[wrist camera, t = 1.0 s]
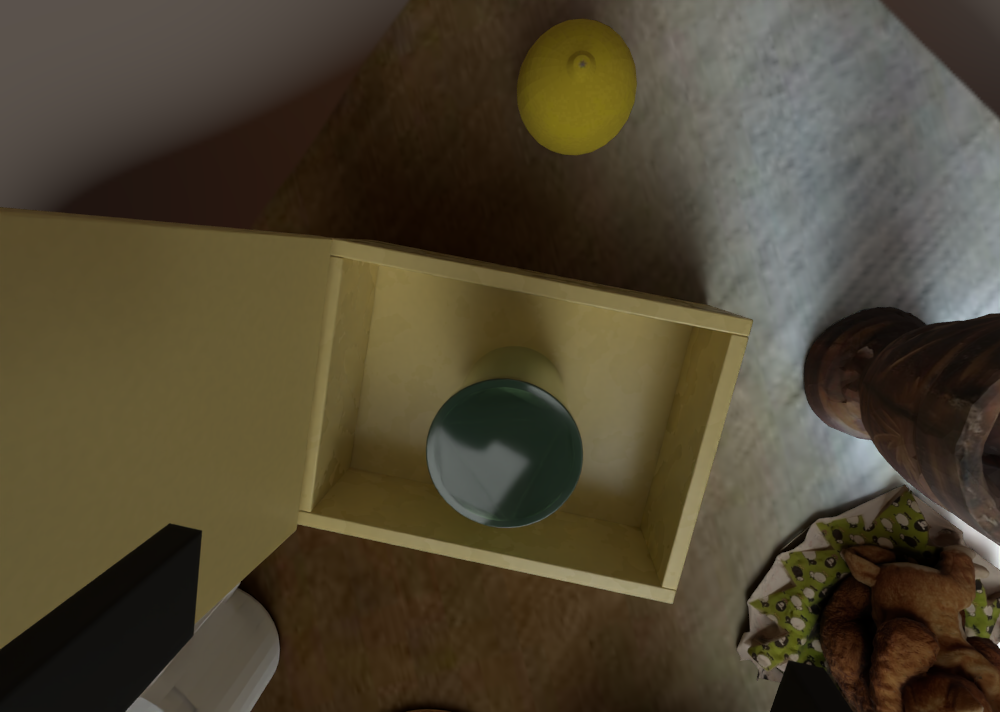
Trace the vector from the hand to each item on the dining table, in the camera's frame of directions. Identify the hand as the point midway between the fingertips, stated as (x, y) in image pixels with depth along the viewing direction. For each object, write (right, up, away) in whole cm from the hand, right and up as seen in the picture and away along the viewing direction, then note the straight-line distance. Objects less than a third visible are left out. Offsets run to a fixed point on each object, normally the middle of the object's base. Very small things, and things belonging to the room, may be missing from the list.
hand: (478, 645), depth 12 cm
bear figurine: (+23, -9, +22) cm, 33 cm away
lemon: (+4, +20, +18) cm, 27 cm away
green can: (+1, +4, +20) cm, 20 cm away
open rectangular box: (+1, +4, +21) cm, 21 cm away
